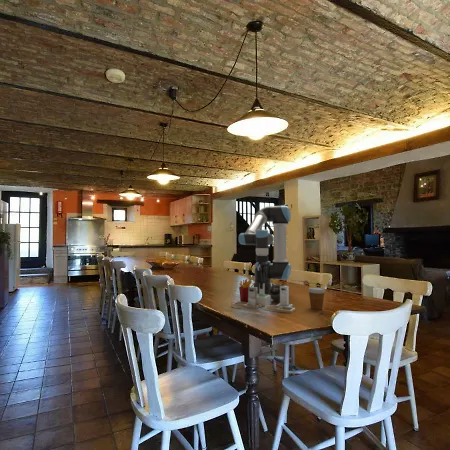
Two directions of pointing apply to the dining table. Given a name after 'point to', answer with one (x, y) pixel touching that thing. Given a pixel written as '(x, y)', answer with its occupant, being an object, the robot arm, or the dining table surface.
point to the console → (264, 300)
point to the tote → (286, 306)
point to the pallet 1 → (249, 300)
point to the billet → (284, 295)
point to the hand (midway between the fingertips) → (261, 294)
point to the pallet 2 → (279, 308)
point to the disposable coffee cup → (316, 297)
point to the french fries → (244, 290)
